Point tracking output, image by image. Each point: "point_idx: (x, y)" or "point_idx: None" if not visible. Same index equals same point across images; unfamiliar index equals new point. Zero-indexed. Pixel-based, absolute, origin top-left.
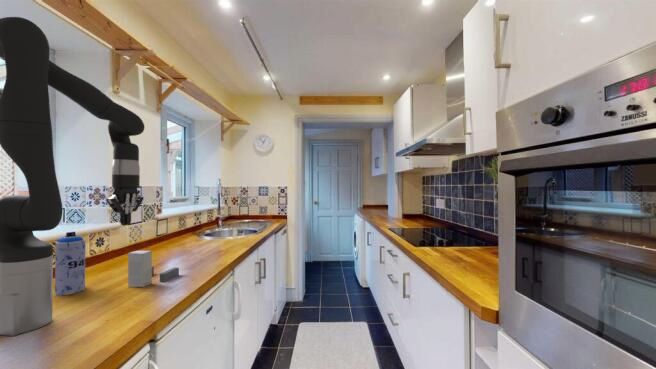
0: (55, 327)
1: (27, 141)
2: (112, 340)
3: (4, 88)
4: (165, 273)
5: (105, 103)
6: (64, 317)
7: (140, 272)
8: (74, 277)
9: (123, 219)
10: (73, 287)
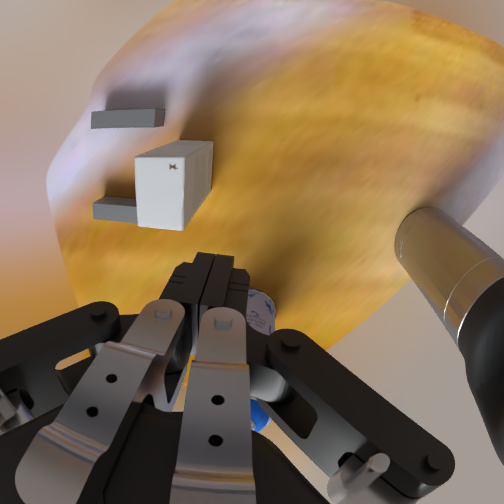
0: (437, 181)
1: None
2: (474, 52)
3: None
4: (150, 109)
5: None
6: (399, 200)
7: (203, 157)
8: (260, 316)
9: (246, 296)
10: (262, 301)
